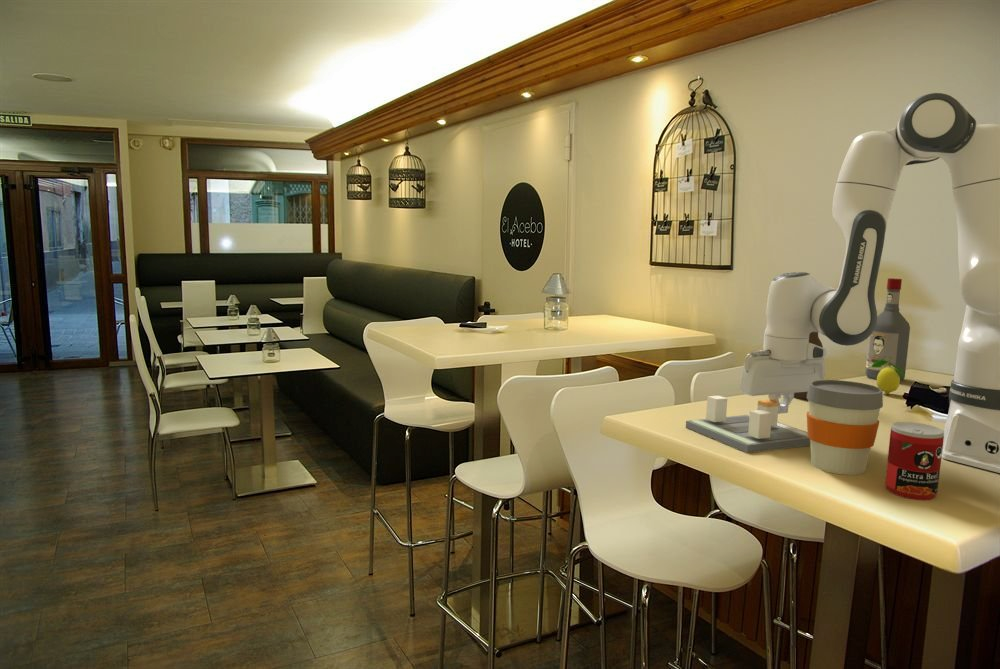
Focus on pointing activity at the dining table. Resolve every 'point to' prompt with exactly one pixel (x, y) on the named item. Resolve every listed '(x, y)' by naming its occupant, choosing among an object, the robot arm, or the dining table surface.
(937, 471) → the canned food
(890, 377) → the lemon
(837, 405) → the reusable coffee cup
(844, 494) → the dining table surface
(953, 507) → the dining table surface
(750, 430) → the block
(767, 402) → the block
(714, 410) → the block
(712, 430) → the panel
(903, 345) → the liquor
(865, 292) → the robot arm
